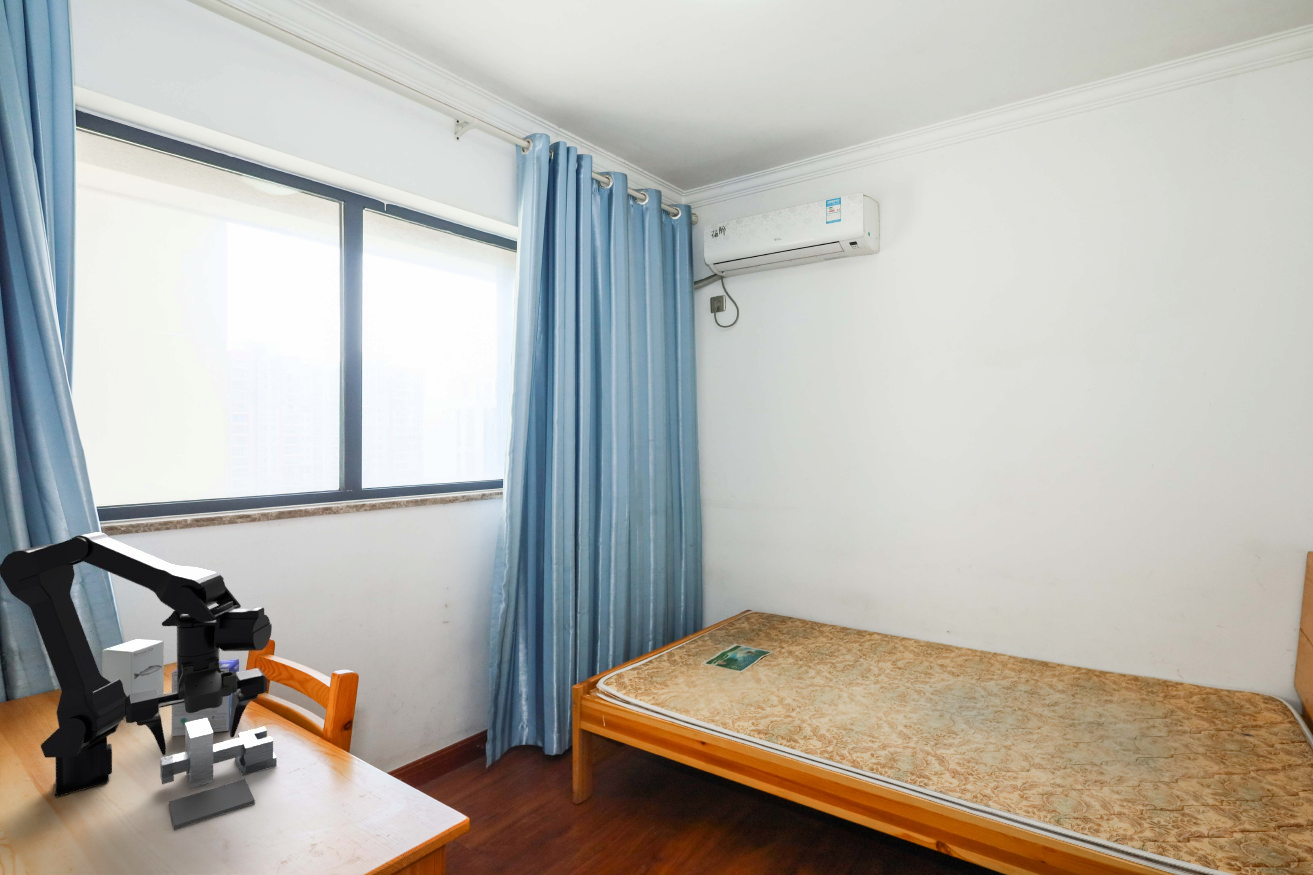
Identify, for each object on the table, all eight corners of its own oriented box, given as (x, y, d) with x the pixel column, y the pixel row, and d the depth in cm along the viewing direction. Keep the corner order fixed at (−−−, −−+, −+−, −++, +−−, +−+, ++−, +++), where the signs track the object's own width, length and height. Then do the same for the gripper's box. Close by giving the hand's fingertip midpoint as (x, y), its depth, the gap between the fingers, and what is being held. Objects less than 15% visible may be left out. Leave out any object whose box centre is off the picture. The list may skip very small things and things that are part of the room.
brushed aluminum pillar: (190, 787, 104) (190, 737, 104) (185, 770, 110) (185, 722, 109) (213, 781, 106) (213, 732, 106) (207, 764, 111) (207, 717, 111)
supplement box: (130, 714, 132) (130, 651, 131) (100, 711, 133) (100, 649, 133) (165, 699, 139) (164, 640, 139) (136, 696, 140) (136, 637, 140)
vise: (163, 799, 102) (163, 770, 102) (159, 780, 107) (159, 753, 107) (276, 765, 112) (276, 739, 112) (267, 750, 117) (267, 725, 117)
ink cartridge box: (241, 719, 130) (240, 646, 130) (230, 731, 125) (230, 655, 124) (183, 724, 127) (183, 650, 127) (170, 737, 122) (169, 659, 122)
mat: (174, 829, 94) (174, 825, 94) (168, 805, 100) (168, 801, 100) (254, 803, 101) (254, 799, 101) (245, 782, 107) (245, 778, 107)
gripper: (127, 679, 95) (128, 786, 96) (274, 651, 108) (274, 745, 108) (124, 658, 104) (124, 756, 104) (260, 634, 116) (260, 722, 116)
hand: (198, 745), depth 108 cm, fingers open, 9 cm apart
